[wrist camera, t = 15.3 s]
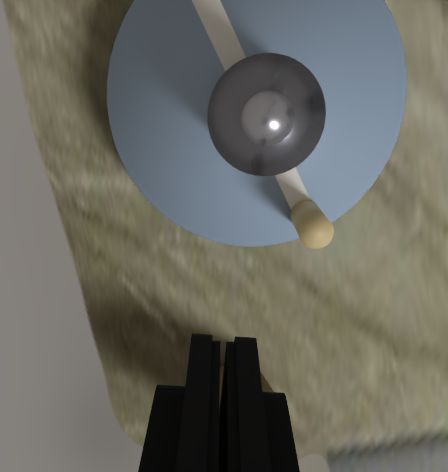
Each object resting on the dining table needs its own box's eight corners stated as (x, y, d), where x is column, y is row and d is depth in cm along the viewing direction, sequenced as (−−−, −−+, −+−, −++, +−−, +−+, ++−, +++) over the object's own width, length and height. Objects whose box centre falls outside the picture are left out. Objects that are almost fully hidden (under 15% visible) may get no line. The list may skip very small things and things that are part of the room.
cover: (193, 87, 24) (184, 90, 17) (278, 40, 23) (299, 26, 17) (235, 169, 25) (240, 197, 19) (315, 128, 24) (346, 145, 18)
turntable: (54, 40, 24) (15, 31, 19) (334, -133, 21) (367, -193, 16) (198, 276, 30) (194, 313, 25) (431, 167, 27) (475, 186, 22)
